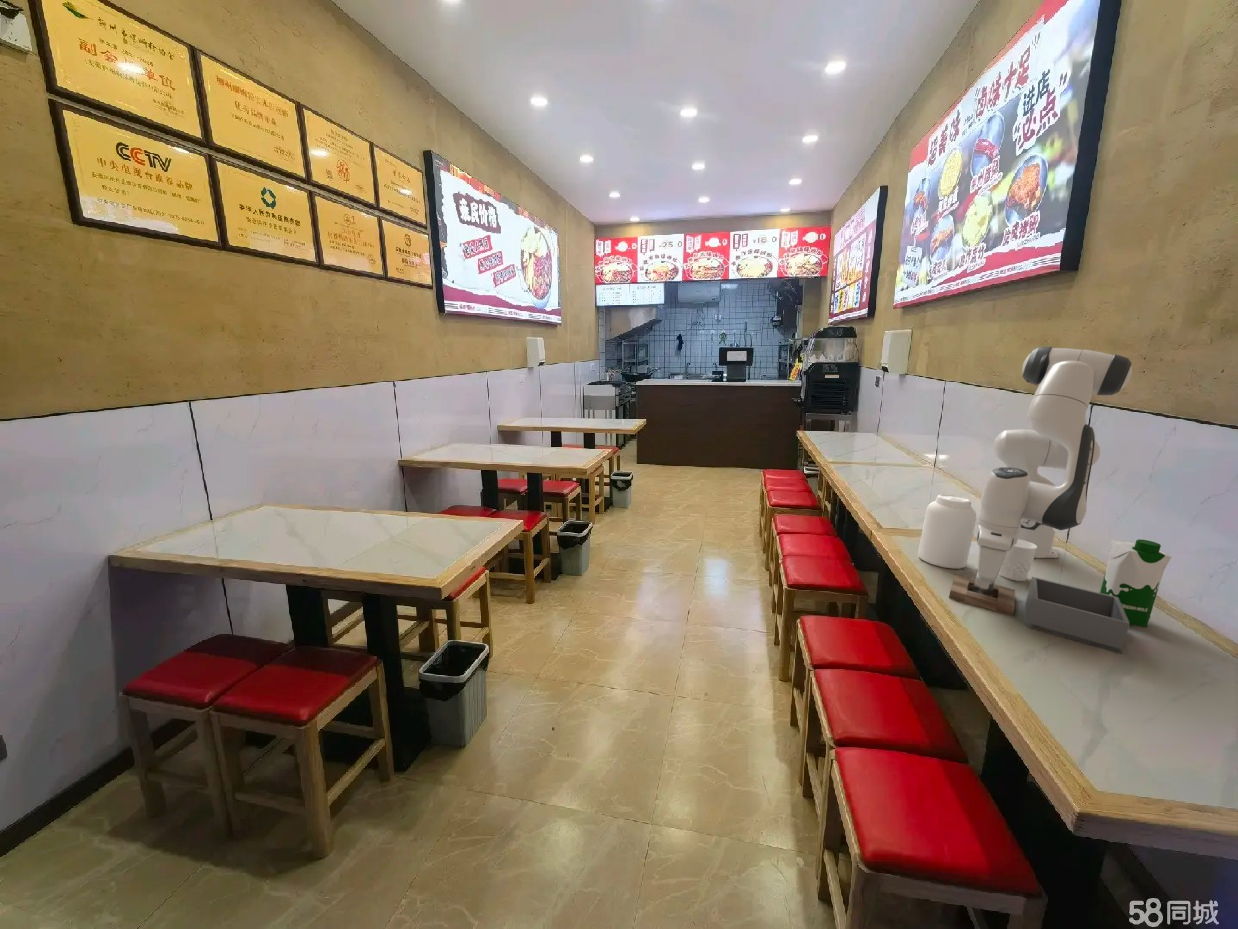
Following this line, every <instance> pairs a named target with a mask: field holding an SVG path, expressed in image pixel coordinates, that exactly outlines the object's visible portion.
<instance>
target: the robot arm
mask: <svg viewBox="0 0 1238 929" xmlns="http://www.w3.org/2000/svg"><path fill="white" fill-rule="evenodd" d="M1021 372H1022V378H1023V379H1024V381H1025V382H1027V383H1028V384H1030V385H1033V386H1038V387H1037V389H1036V391H1035V392H1034V395H1033V397H1032V400H1031V402H1030V405H1029V407H1028V410H1027V420H1028V424H1029V425H1030V427H1031V428H1032V429H1025V428H1019V429H1017V428H1016V429H1004V430H1002V431H1001V432H1000V433H999V434H997V436H996V437H995V439H994V442H993V451H994V454H995V456H996V457H997V458H998V459H999V460H1000V461H1002V463H1003V464H1004V465H1005V466H1006V467H1003V466H1002V467H996V468H994V469H992V470H991V471H990V473H989V475H988V476H987V479H986V482H985V483H984V484H985V485H984V487H983V490H982V494H981V498H980V505H981V507H980V511H979V512H978V515H976V523H975V528H974V532H973V536H974V538H976V543H977V545H978V561H977V562H978V563H977V570H978V576H979V577H981V582H980V587H981V588H983V589H988V587H989V583H990V581H991V580H995V581H996V580H997V578H998V576H999V572H1000V569H1001V566H1002V564H1003V561H1004V558H1005V556H1006V553H1007V551H1010V550H1011V547H1012V546H1014V545H1016V544H1017V540H1018V539H1019V540H1023V541H1027V542H1030V543H1032V544H1034V545H1036V546H1037V550H1036V553H1035V556H1034V559H1035V558H1036V559H1046V558H1050V559H1051V558H1052V559H1058V558H1059V554H1058V553H1057V551H1055V550H1054V549H1053V546H1054V541H1055V537H1056V530H1059V531H1064V530H1068V529H1073V528H1075V527H1077V526H1080V525H1081V523H1082V522H1083V521H1084V519H1085V516H1086V514H1087V499H1088V490H1089V489H1088V488H1089V483H1090V478H1091V470H1092V466H1094V465H1095V464H1096V463H1097V461H1098V460H1099V458H1100V456H1101V448H1100V445H1099V443H1098V442H1097V441H1096V438H1095V437H1096V436H1095V435H1096V434H1095V431H1094V429H1093V427H1092V426H1090V425H1088V424H1087V420H1086V413H1087V410H1088V407H1089V405H1090V402H1091V400H1092V396H1093V394H1095V395H1096V394H1097V396H1112V395H1116V394H1119V392H1121V390H1122V389H1123V388H1125V387H1126V386H1127V384H1128V383H1129V382H1130V380H1131V378H1132V374H1133V367H1132V361H1131V360H1130V359H1129V357H1125V356H1122V355H1119V354H1117V353H1116V354H1110V353H1105V352H1102V351H1096V350H1090V349H1084V348H1083V349H1078V348H1069V347H1067V348H1066V347H1064V348H1063V347H1053V346H1039V347H1036V348H1035V349H1033V350H1032V351H1031V352H1030V353H1029V354H1028V355H1027V357H1026V358H1025V359H1024V361H1023V363H1022V368H1021ZM1038 467H1044V468H1050V469H1051V468H1052V469H1061V470H1065V474H1064V480H1063V483H1062V484H1060V485H1056V484H1054V482H1052V481H1051V480H1049V479H1048V478H1046V477H1044V476H1042V475H1040V474H1039V473H1038ZM1055 529H1056V530H1055Z"/></svg>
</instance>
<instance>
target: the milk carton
mask: <svg viewBox="0 0 1238 929" xmlns="http://www.w3.org/2000/svg"><path fill="white" fill-rule="evenodd" d="M1110 542H1111V543H1110V550H1109V558H1108V562H1107V566H1106V568H1105V569H1106V570H1105V572H1104V573H1105V574H1104V576H1103V580H1102V584H1101V586H1100V591H1099V593H1102V594H1106V595H1111V596H1115V597H1118V598H1119V600H1120V602H1121V605H1122V607H1123V609H1124V611H1125V614H1126V616H1127V618H1128V621H1129V623H1130V625H1132V626H1138V627H1143V628H1147V627H1148V625H1149V621H1150V617H1151V615H1152V612H1153V607H1154V605H1155V604H1154V603H1155V600H1156V598H1157V595H1158V591H1159V588H1160V584H1161V581H1162V578H1163V576H1164V572H1165V570H1166V568H1167V566H1168V564H1169V563H1170V560H1171V559H1172V556H1171V555H1169V554H1168V553H1165V552H1164V551H1162V550H1161V544H1160V543H1158V542H1155V541H1151V540H1146V539H1140V538H1139V539H1136V541H1135V543H1134V542H1128V541H1120V540H1112V539H1111V541H1110Z"/></svg>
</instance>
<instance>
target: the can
mask: <svg viewBox="0 0 1238 929" xmlns="http://www.w3.org/2000/svg"><path fill="white" fill-rule="evenodd" d="M976 513H977V511H976V510H975V509H974V508H973V507H972V501H971V500H970V499H968V498H967V497H964V496H961V495H956V494H950V493H949V494H948V493H941V494H938V495H937V496H936V498H935V500H934V501H932V502H931V503H929V504H928V505H927V506H926V510H925V516H924V521H923V526H922V532H921V536H920V541H919V545H918V546H919V547H918V552H917V555H918V558H920V560H923V561H924V562H926V563H928V564H931V565H934V566H936V567H940V568H943V569H944V568H946V569H953V570H954V569H957V570H960V569H963V568H965V567H966V566H967V564H968V559H969V555H970V549H971V546H972V541H973V536H974V530H975V525H976V521H977V514H976Z"/></svg>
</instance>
